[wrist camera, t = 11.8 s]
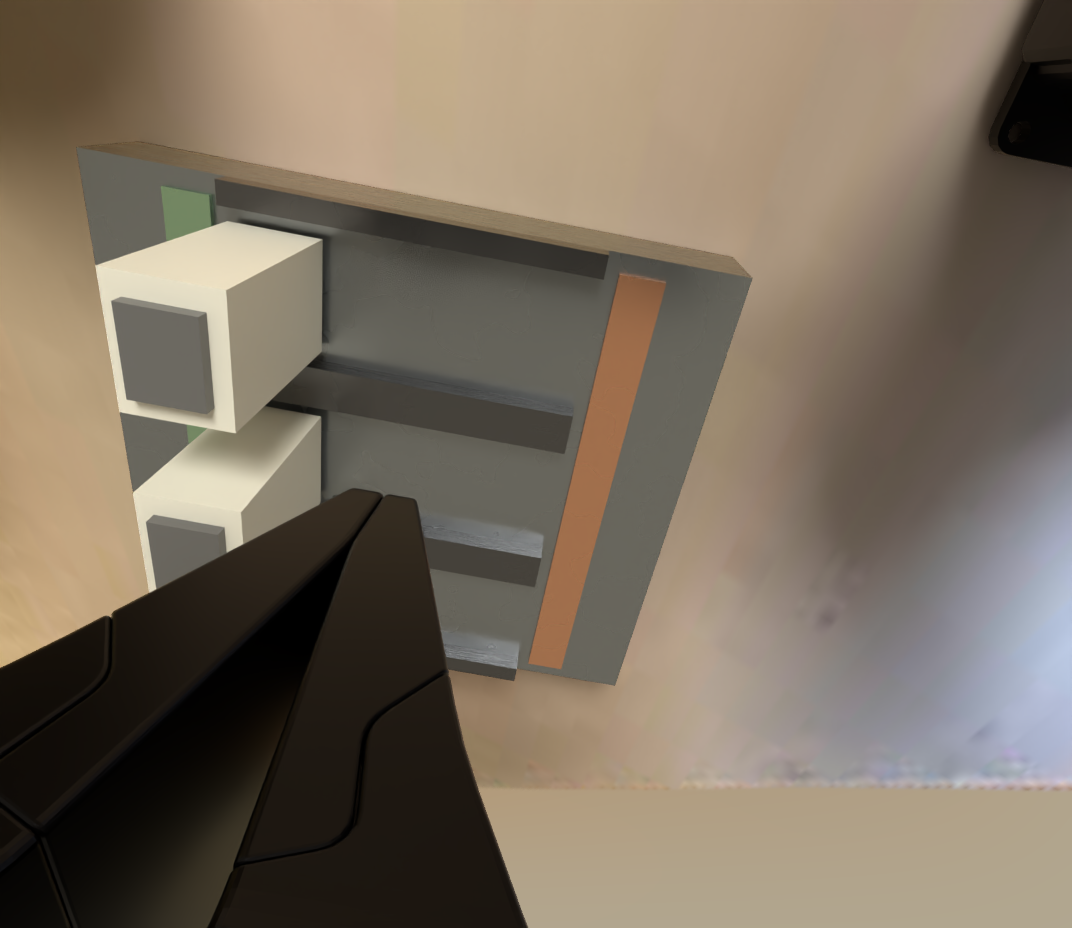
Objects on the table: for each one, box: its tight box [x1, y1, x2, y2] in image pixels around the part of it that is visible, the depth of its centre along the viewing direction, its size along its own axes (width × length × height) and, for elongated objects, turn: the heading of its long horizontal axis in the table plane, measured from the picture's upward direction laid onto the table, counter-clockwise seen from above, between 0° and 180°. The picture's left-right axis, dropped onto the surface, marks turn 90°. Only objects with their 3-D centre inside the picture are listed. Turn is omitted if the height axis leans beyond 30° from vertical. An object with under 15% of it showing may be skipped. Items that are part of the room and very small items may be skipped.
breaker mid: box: [133, 406, 321, 593], centre depth 17 cm, size 2×3×5 cm
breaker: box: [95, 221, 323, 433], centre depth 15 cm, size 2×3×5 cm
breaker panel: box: [76, 141, 752, 686], centre depth 21 cm, size 17×15×3 cm
